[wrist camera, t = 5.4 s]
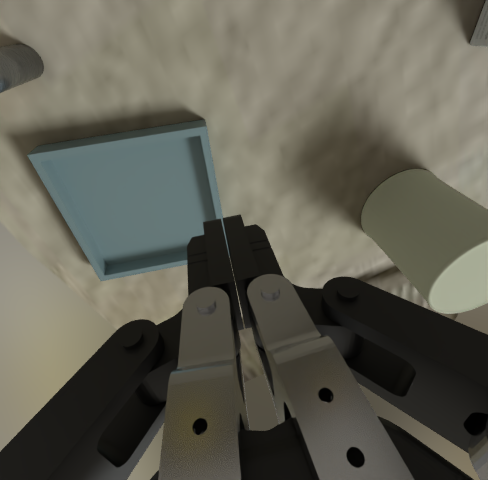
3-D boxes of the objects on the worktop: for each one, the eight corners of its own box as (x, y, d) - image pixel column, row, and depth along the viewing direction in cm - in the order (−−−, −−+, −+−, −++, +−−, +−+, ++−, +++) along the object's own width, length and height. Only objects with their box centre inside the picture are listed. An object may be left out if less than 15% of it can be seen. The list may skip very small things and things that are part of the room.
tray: (37, 145, 23) (27, 155, 21) (204, 119, 24) (206, 126, 22) (104, 267, 31) (100, 281, 29) (227, 244, 32) (229, 256, 30)
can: (448, 205, 34) (551, 276, 25) (379, 251, 37) (448, 331, 27) (424, 150, 29) (541, 212, 20) (346, 208, 32) (416, 288, 22)
